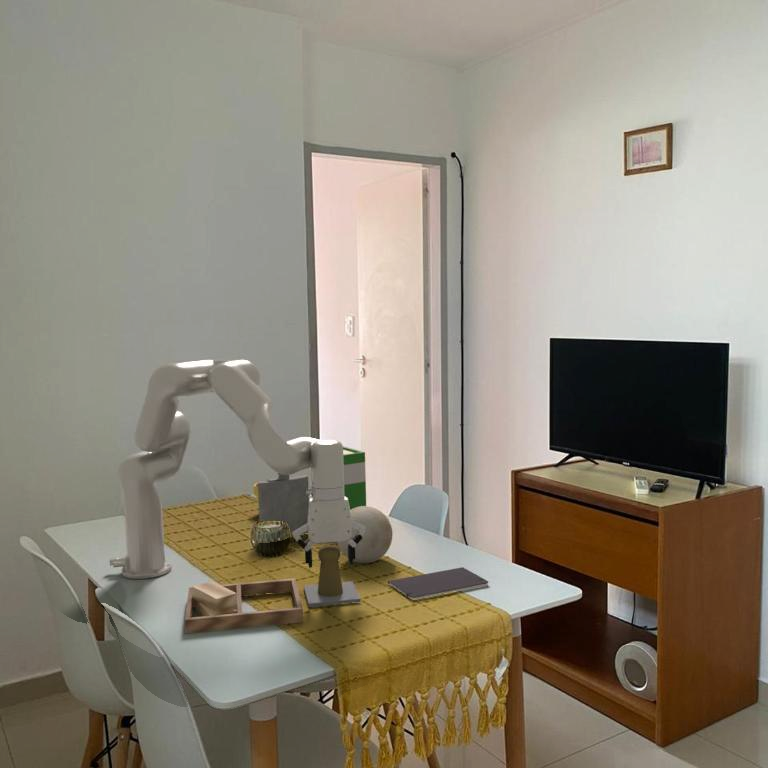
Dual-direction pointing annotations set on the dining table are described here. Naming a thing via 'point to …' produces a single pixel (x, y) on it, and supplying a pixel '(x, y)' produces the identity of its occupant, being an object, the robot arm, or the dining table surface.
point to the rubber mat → (318, 600)
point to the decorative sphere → (369, 535)
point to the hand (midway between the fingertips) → (330, 564)
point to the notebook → (438, 583)
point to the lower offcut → (209, 612)
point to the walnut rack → (248, 617)
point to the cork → (329, 572)
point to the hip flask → (284, 500)
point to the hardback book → (354, 477)
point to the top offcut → (214, 596)
